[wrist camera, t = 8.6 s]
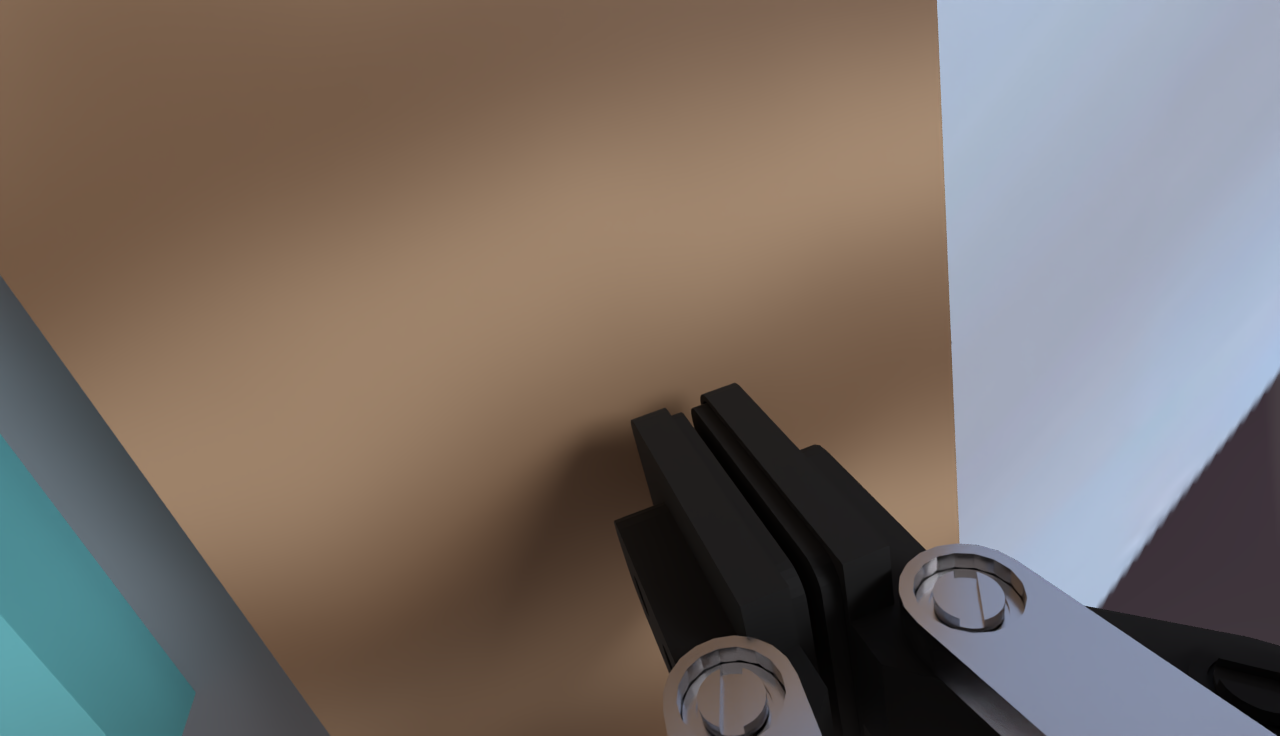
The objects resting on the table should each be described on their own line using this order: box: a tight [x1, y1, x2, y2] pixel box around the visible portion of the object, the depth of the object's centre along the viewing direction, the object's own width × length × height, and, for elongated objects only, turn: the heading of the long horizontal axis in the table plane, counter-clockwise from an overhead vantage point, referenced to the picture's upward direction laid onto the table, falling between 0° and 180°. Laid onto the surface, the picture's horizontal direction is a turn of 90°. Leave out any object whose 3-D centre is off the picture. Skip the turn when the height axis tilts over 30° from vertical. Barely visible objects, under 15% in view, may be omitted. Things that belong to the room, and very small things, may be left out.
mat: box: [0, 275, 330, 736], centre depth 14 cm, size 20×11×1 cm, turn 15°
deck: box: [0, 0, 959, 736], centre depth 13 cm, size 20×12×4 cm, turn 15°
